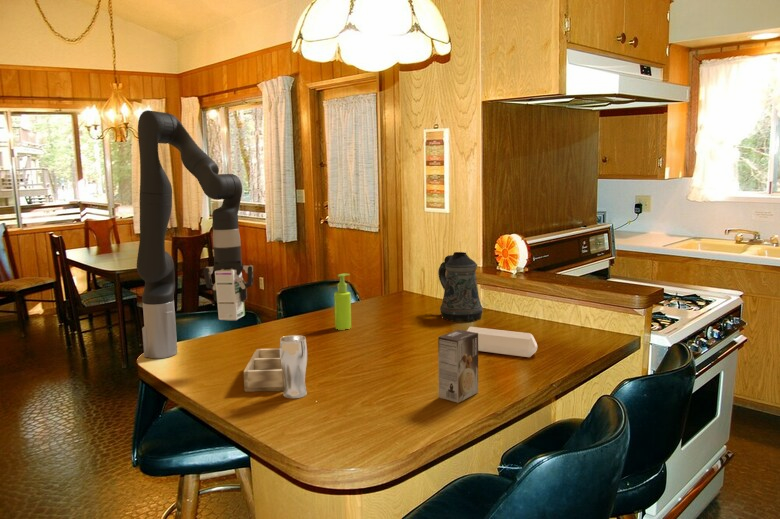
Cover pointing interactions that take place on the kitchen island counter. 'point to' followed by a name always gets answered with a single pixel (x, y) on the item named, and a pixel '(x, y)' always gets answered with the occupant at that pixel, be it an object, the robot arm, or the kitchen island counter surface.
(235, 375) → the kitchen island counter surface
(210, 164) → the robot arm
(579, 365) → the kitchen island counter surface
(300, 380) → the beer glass
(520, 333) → the crystal
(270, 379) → the crate
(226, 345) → the kitchen island counter surface
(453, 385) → the coffee box
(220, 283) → the syrup box
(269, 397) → the kitchen island counter surface
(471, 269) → the beer stein
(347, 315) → the soap dispenser
